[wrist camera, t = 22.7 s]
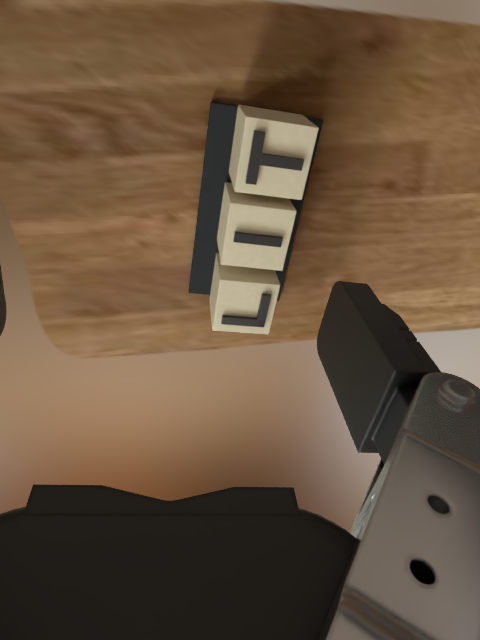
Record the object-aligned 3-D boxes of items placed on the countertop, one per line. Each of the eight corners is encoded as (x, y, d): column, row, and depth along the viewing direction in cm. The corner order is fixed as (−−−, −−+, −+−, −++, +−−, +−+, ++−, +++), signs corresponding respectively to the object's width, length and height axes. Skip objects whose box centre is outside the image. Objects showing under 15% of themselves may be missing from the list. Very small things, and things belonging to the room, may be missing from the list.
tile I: (225, 181, 33) (230, 204, 29) (284, 189, 34) (297, 212, 30) (216, 238, 36) (221, 266, 32) (272, 245, 36) (283, 272, 32)
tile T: (238, 104, 30) (246, 117, 26) (302, 114, 31) (320, 128, 27) (228, 172, 33) (234, 193, 29) (288, 180, 34) (302, 201, 30)
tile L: (216, 252, 36) (220, 281, 32) (270, 258, 37) (281, 286, 33) (209, 300, 39) (212, 332, 35) (260, 304, 40) (269, 336, 35)
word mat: (211, 101, 30) (211, 102, 30) (321, 119, 32) (323, 120, 31) (188, 290, 38) (188, 292, 38) (278, 298, 40) (278, 300, 40)
